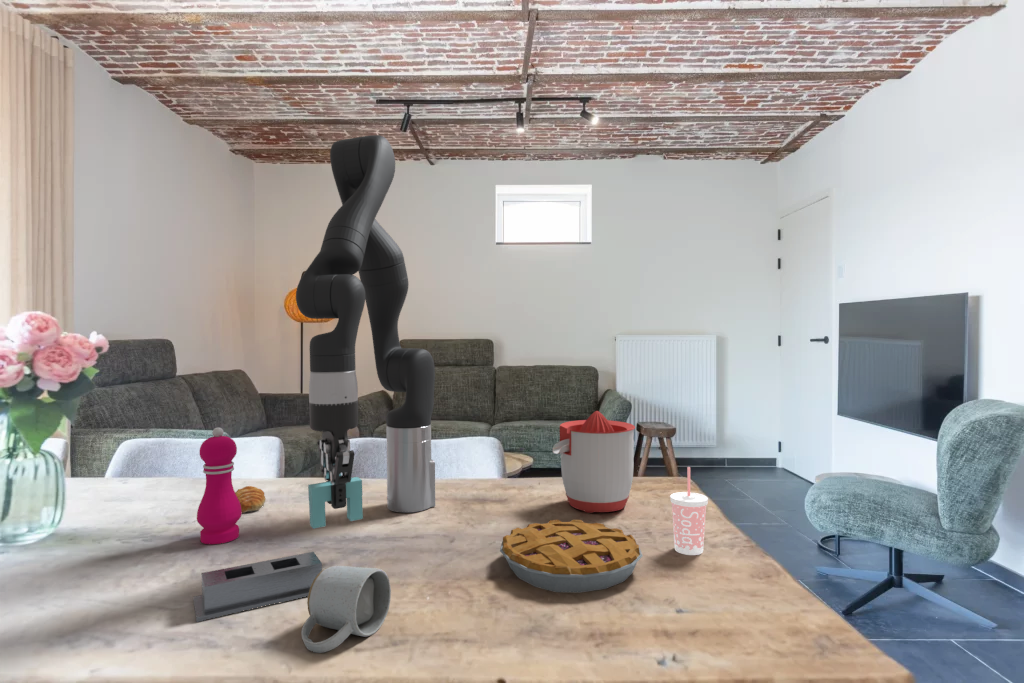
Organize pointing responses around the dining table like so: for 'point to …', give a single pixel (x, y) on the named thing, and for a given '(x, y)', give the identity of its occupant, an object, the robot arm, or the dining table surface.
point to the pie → (570, 555)
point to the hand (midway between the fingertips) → (336, 504)
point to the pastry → (250, 498)
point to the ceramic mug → (346, 604)
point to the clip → (322, 494)
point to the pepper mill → (218, 491)
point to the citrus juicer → (596, 462)
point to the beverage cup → (688, 520)
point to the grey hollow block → (255, 585)
